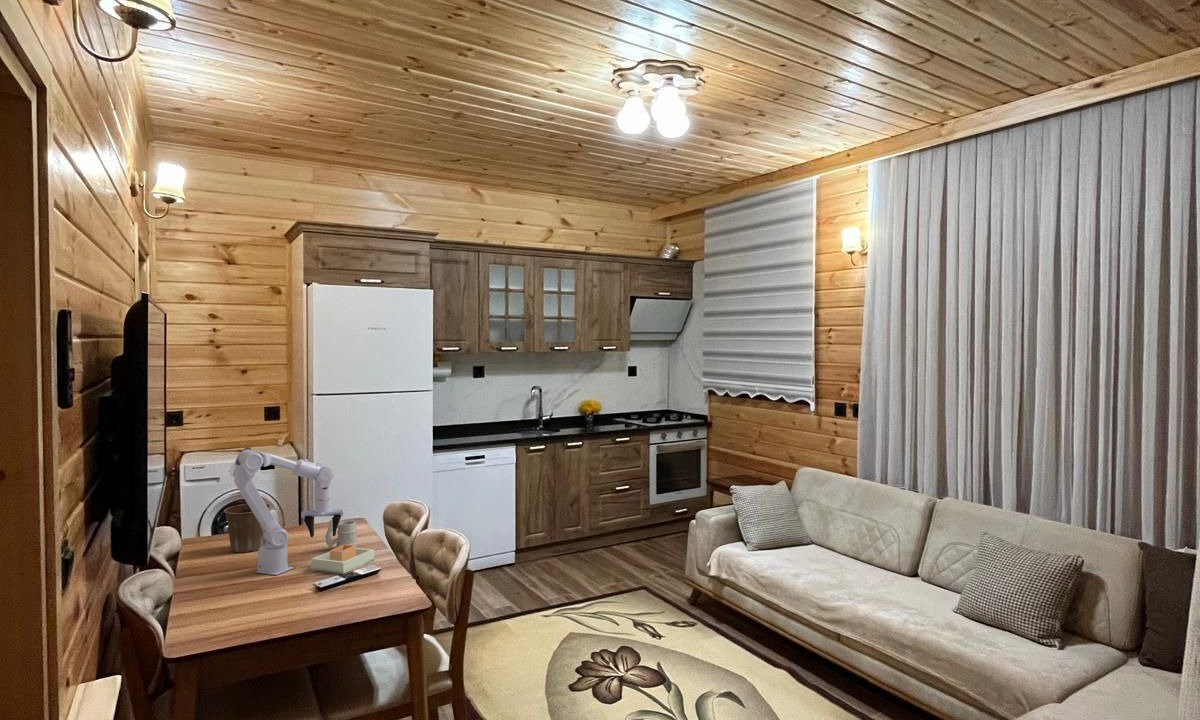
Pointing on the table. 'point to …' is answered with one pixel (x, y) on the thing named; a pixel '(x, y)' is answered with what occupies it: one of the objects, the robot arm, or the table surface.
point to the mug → (342, 534)
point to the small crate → (343, 553)
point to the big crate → (341, 567)
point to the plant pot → (244, 529)
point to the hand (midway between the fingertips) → (323, 535)
